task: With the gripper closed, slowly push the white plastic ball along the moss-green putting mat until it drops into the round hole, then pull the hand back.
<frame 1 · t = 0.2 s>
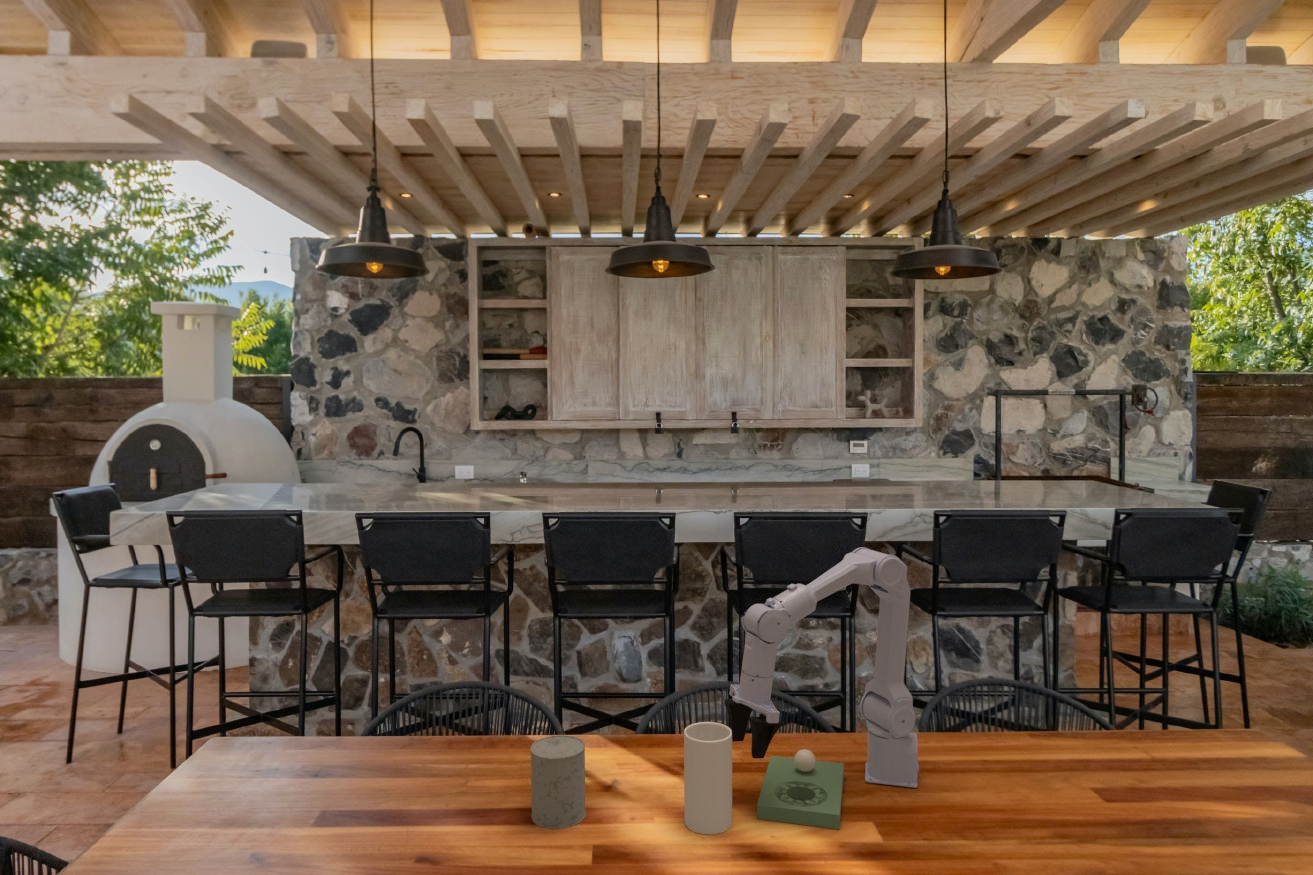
hand: (747, 748, 146), 11 cm above the table, tool pointing down, fingers open, 7 cm apart
grey marble cylinder: (558, 815, 145), on the table
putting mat: (802, 796, 150), on the table
ball: (804, 760, 155), point 4 cm above the table, touching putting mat
cup: (708, 822, 142), on the table
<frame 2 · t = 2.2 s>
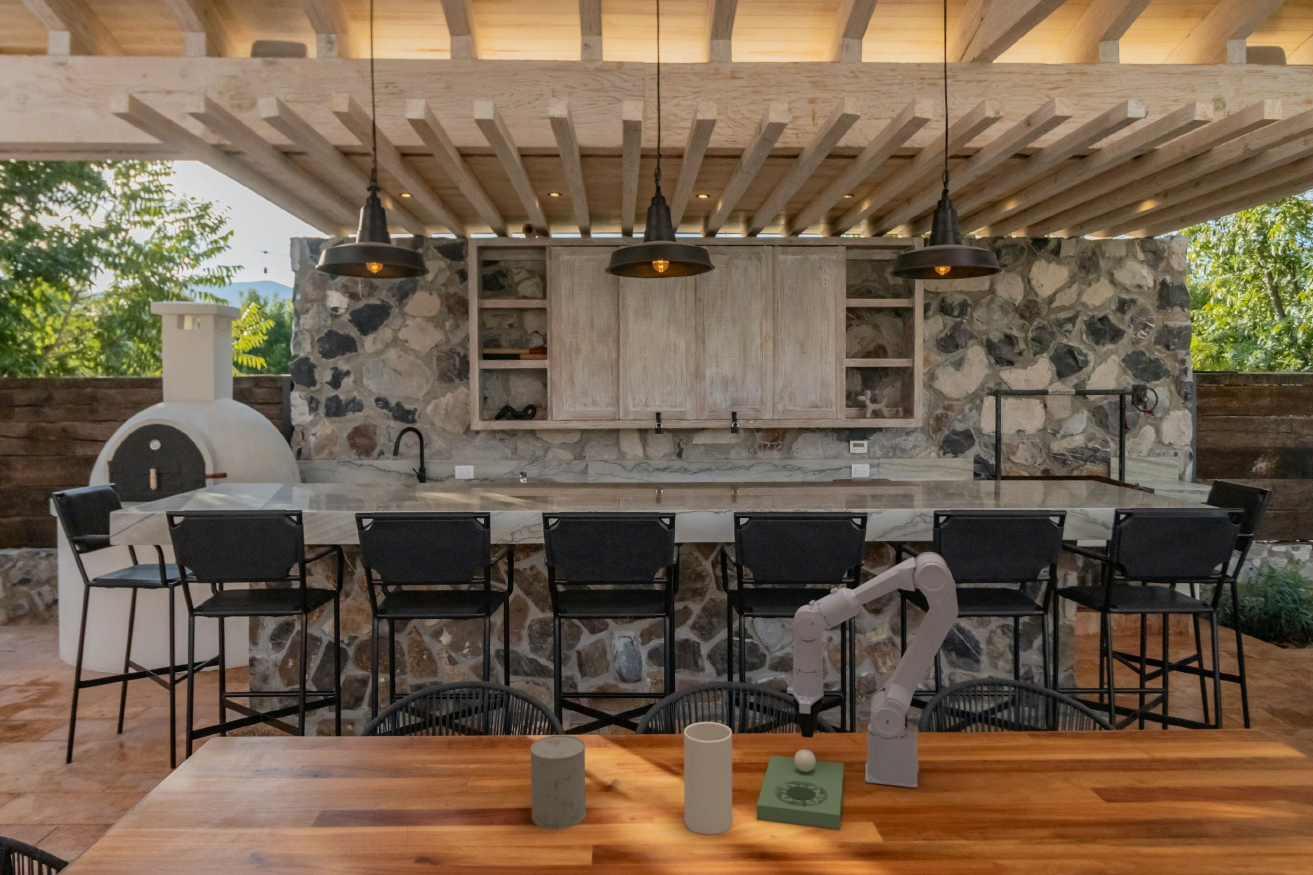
hand: (807, 735, 162), 6 cm above the table, tool pointing down, fingers closed
nothing on the table moved.
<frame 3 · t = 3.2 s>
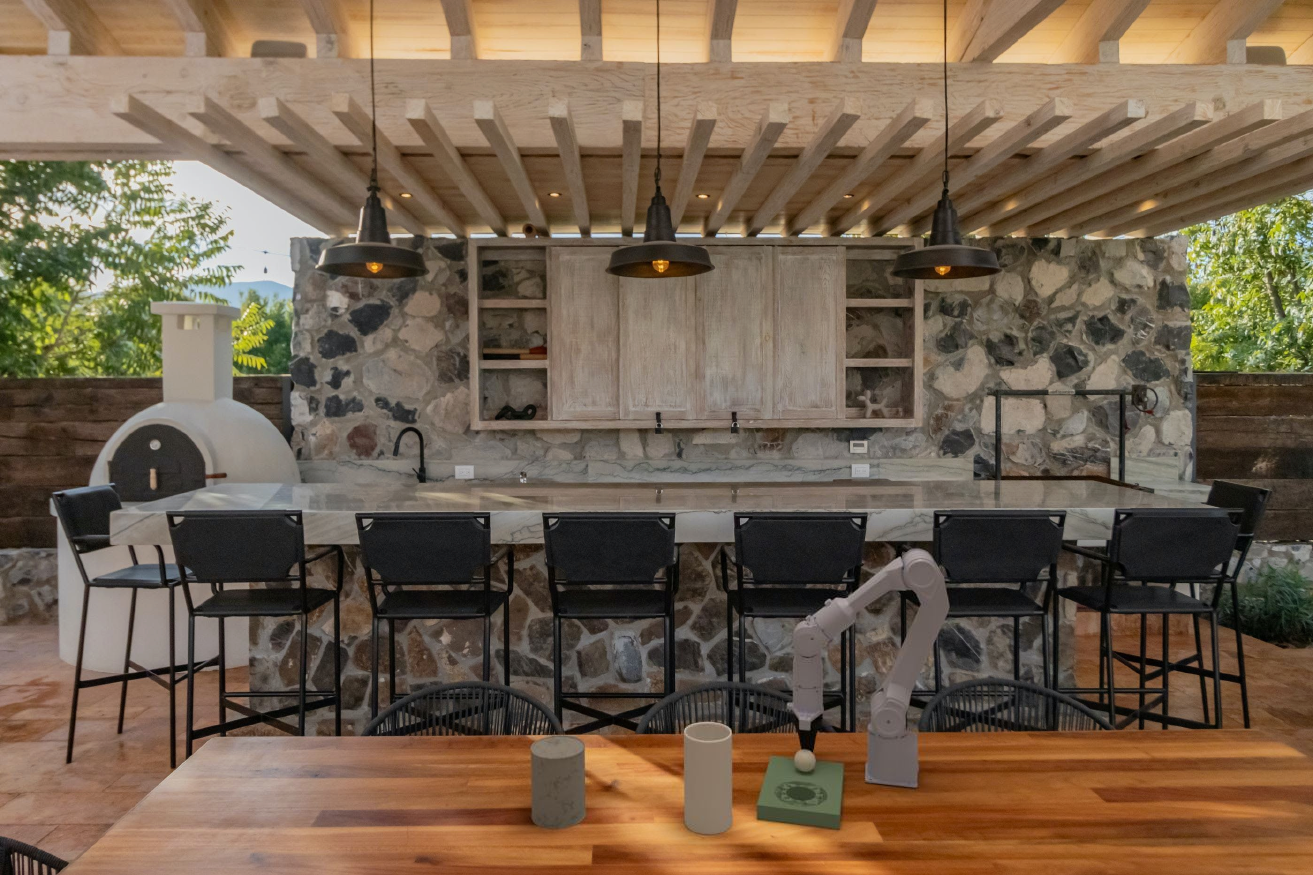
hand: (807, 751, 161), 3 cm above the table, tool pointing down, fingers closed
nothing on the table moved.
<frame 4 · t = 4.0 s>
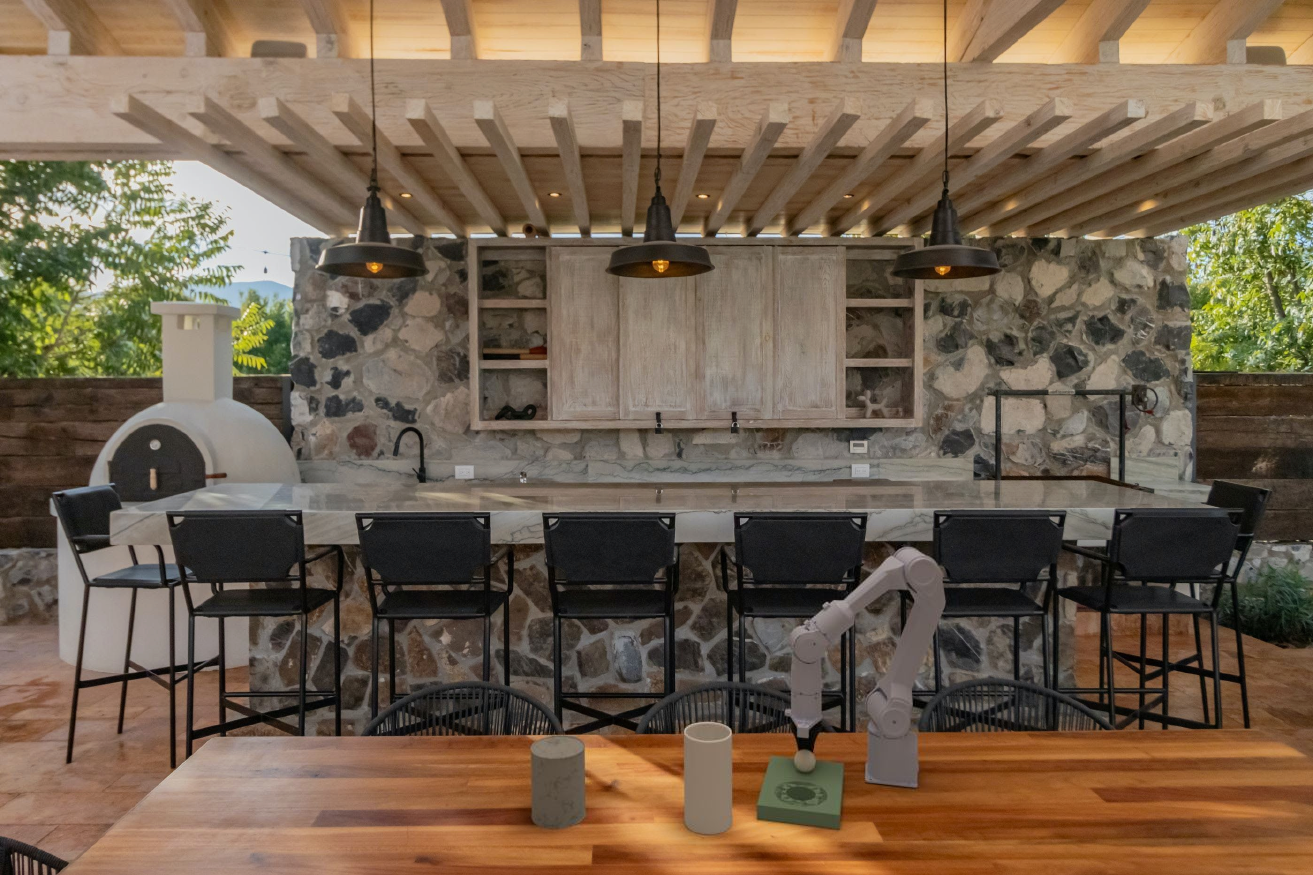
hand: (806, 759, 158), 3 cm above the table, tool pointing down, fingers closed, pressing on ball
ball: (804, 760, 155), point 4 cm above the table, touching gripper, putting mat
everything else where it was.
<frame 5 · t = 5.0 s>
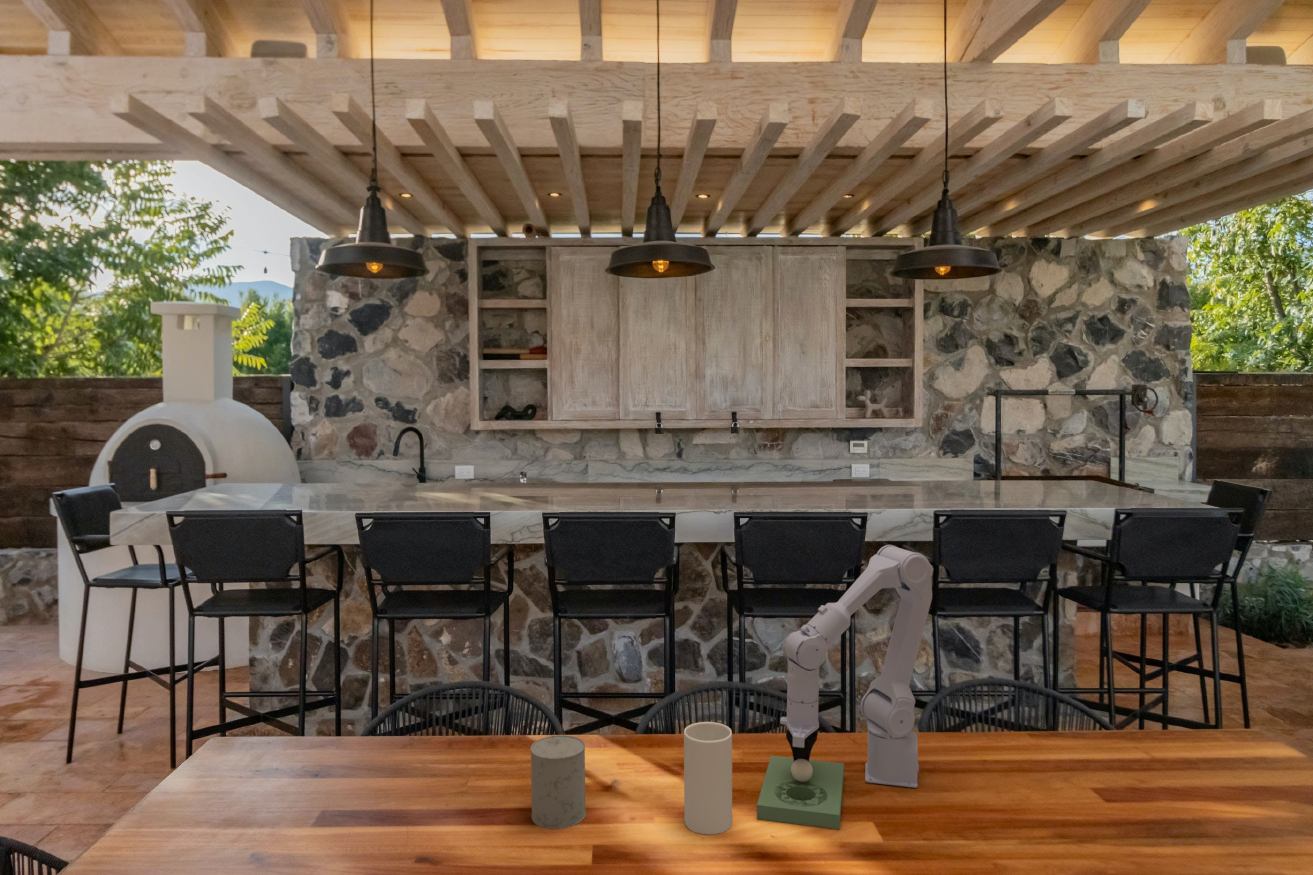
hand: (801, 769, 153), 4 cm above the table, tool pointing down, fingers closed, pressing on ball
ball: (801, 770, 151), point 4 cm above the table, tilted 116°, touching gripper, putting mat
everything else where it was.
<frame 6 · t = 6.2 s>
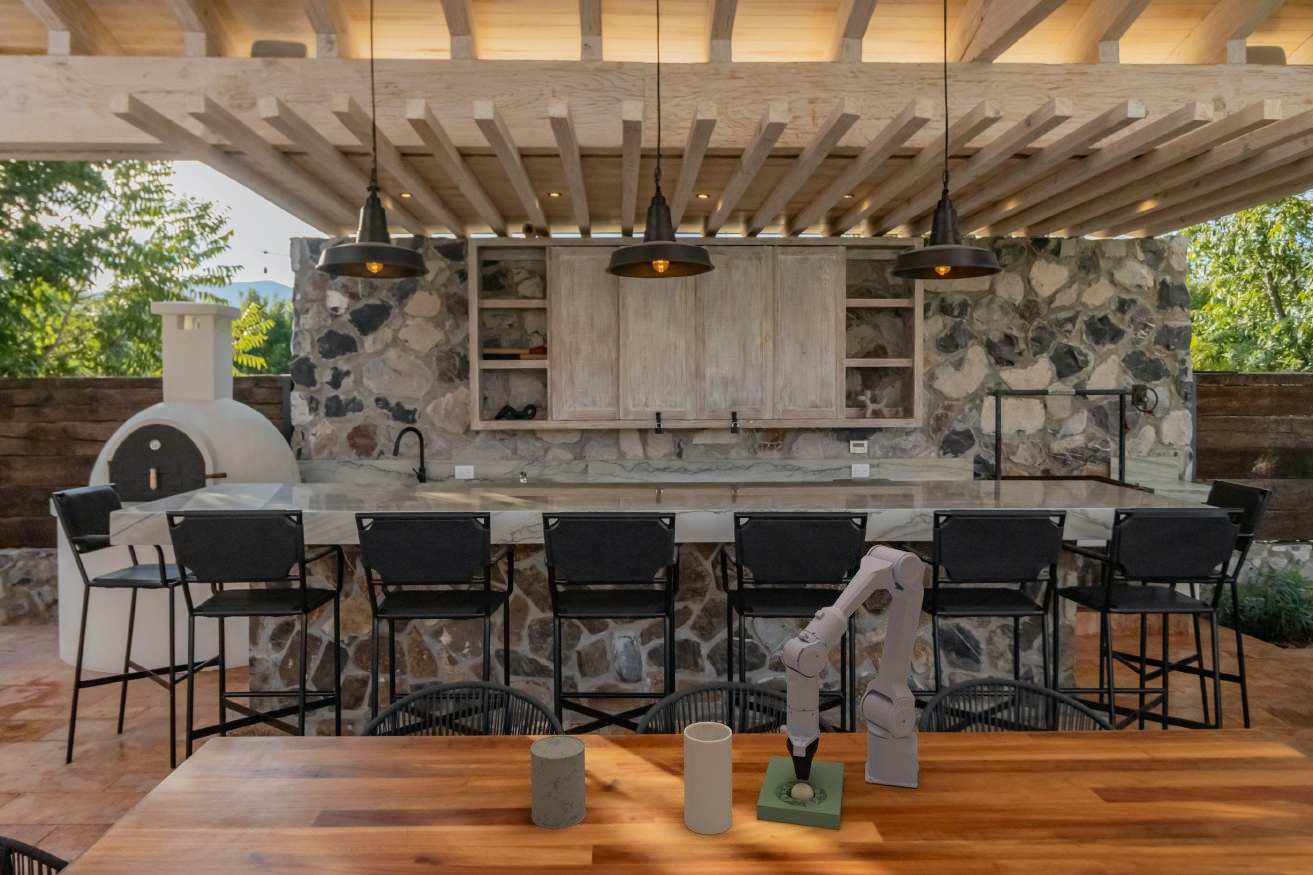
hand: (802, 778, 150), 3 cm above the table, tool pointing down, fingers closed
ball: (802, 794, 147), point 2 cm above the table, tilted 131°
everything else where it was.
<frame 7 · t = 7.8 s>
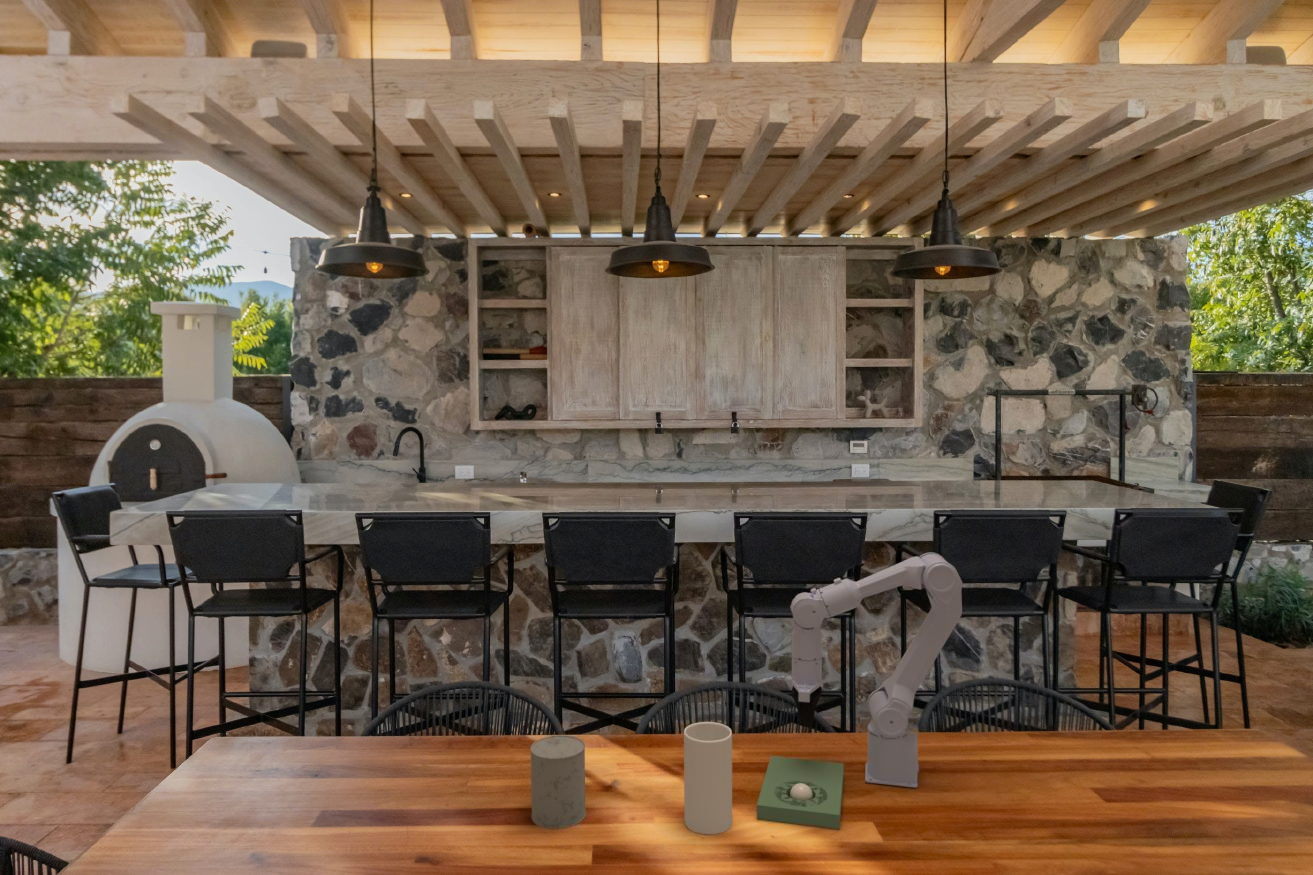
hand: (806, 725, 159), 9 cm above the table, tool pointing down, fingers closed
nothing on the table moved.
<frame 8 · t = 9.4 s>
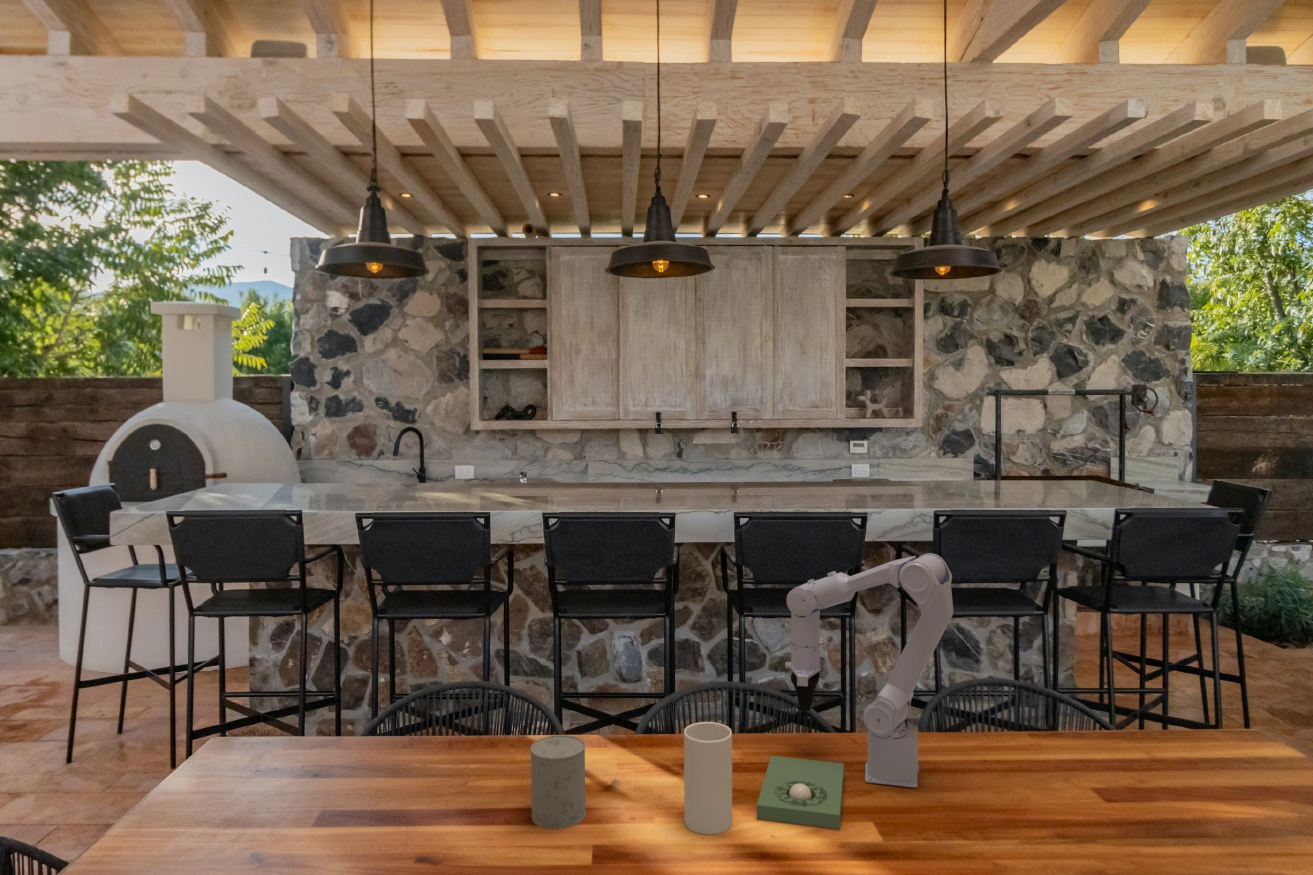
hand: (805, 708, 168), 9 cm above the table, tool pointing down, fingers closed
nothing on the table moved.
at the end: ball 0.2 cm from the target spot on the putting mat, point 2.0 cm above the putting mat's base; ball touching table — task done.
